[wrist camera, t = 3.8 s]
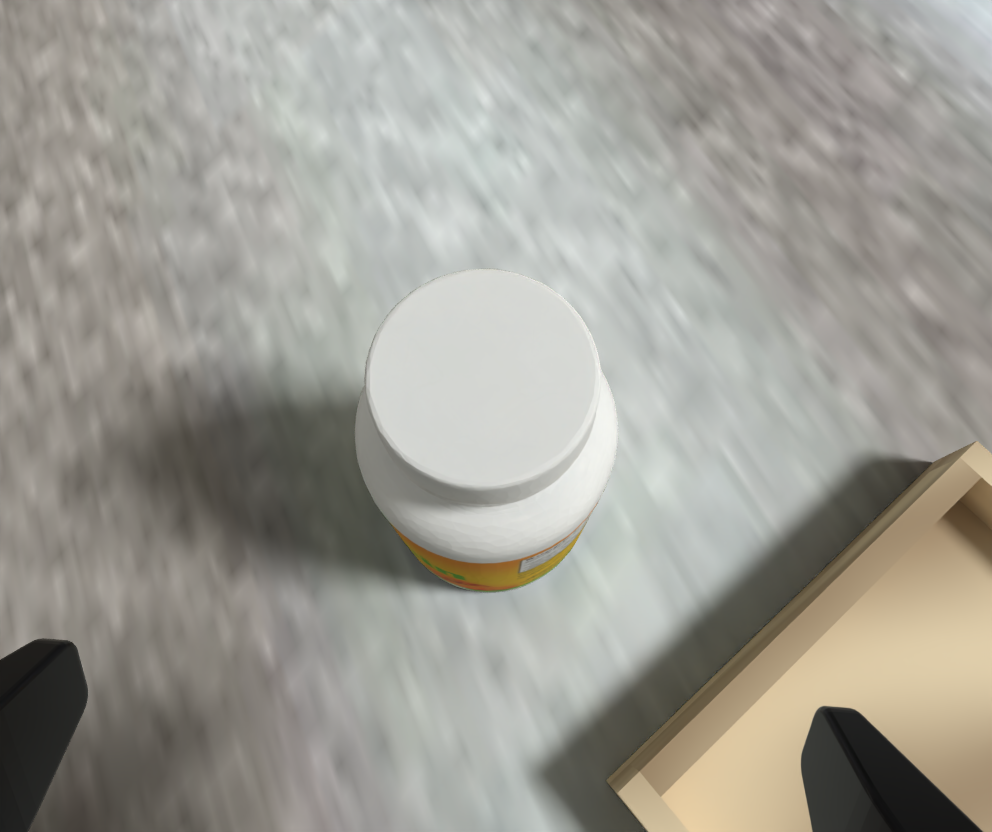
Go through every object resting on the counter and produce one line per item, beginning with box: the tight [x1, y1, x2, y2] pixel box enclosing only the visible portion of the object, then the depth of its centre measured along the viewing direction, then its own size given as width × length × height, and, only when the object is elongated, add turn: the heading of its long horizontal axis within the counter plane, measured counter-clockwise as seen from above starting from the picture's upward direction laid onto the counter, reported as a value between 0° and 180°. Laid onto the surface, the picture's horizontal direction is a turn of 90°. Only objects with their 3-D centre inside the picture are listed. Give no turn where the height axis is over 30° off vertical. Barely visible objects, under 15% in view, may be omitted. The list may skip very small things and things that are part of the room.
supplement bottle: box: [355, 269, 618, 593], centre depth 17 cm, size 5×5×10 cm
